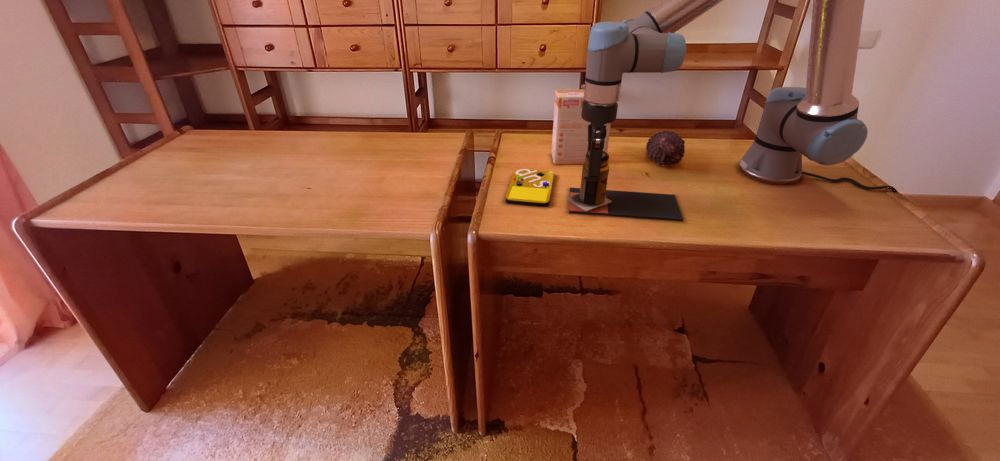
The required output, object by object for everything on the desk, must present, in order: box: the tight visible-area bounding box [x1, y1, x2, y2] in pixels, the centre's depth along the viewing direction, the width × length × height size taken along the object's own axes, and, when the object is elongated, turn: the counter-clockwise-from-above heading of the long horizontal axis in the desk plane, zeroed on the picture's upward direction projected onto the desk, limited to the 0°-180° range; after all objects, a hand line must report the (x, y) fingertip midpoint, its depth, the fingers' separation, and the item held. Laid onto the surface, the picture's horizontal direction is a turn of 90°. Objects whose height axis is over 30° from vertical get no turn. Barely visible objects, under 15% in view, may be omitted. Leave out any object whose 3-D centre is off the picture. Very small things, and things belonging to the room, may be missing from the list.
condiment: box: [565, 151, 612, 211], centre depth 112 cm, size 7×8×12 cm
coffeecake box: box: [551, 88, 612, 165], centre depth 133 cm, size 15×7×20 cm, turn 92°
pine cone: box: [645, 130, 686, 167], centre depth 135 cm, size 18×10×10 cm
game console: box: [504, 168, 555, 208], centre depth 123 cm, size 18×11×2 cm, turn 171°
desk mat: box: [568, 187, 684, 222], centre depth 116 cm, size 26×12×1 cm, turn 82°
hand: (589, 196), depth 115 cm, fingers closed on condiment, 6 cm apart
